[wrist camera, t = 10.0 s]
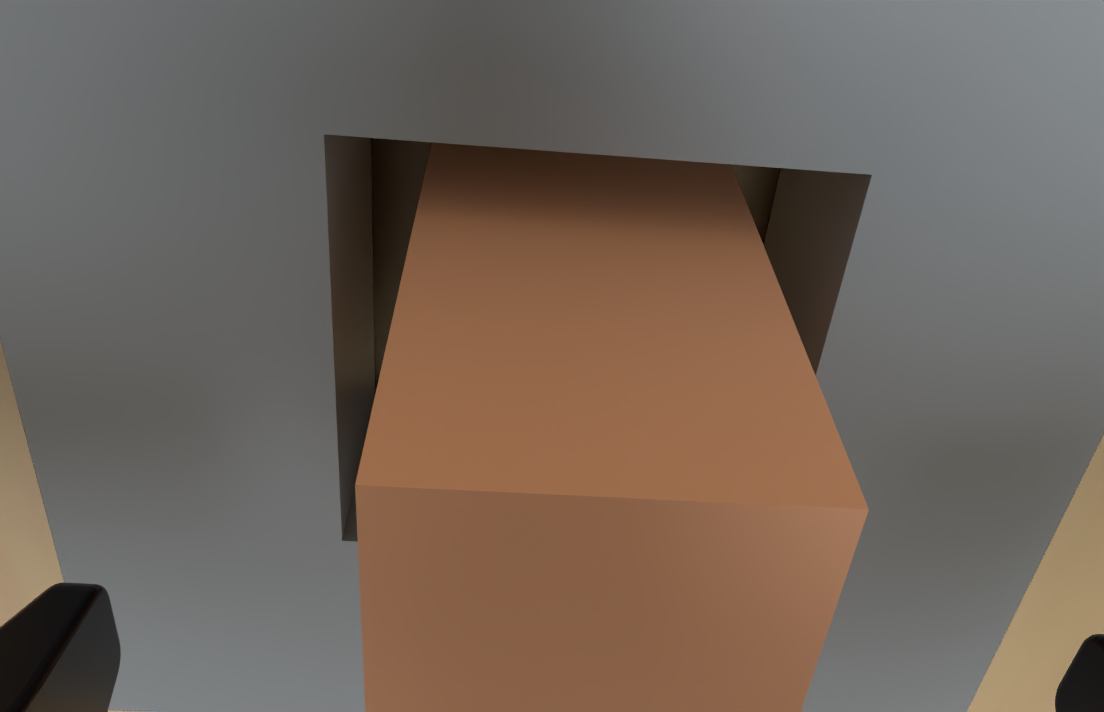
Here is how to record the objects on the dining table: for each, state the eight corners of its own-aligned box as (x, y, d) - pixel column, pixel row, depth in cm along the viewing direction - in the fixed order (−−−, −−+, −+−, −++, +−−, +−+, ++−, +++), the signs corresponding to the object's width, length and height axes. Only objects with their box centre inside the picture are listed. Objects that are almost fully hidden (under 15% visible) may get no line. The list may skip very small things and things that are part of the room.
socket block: (889, 588, 20) (950, 743, 17) (165, 552, 19) (97, 709, 16) (1205, -232, 12) (1418, -202, 9) (1, -351, 11) (-185, -361, 8)
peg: (677, 357, 17) (768, 804, 10) (435, 345, 17) (369, 792, 10) (717, 129, 15) (868, 508, 8) (439, 110, 14) (354, 484, 8)
